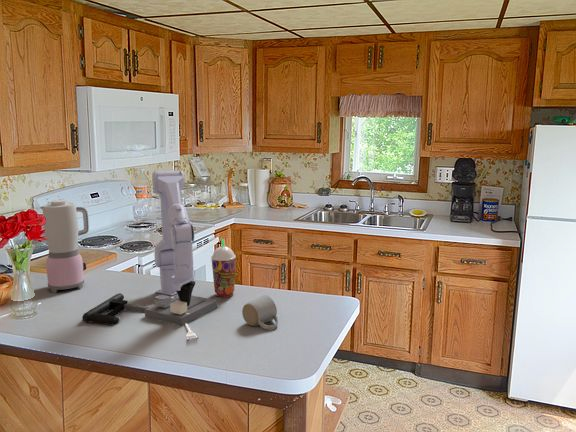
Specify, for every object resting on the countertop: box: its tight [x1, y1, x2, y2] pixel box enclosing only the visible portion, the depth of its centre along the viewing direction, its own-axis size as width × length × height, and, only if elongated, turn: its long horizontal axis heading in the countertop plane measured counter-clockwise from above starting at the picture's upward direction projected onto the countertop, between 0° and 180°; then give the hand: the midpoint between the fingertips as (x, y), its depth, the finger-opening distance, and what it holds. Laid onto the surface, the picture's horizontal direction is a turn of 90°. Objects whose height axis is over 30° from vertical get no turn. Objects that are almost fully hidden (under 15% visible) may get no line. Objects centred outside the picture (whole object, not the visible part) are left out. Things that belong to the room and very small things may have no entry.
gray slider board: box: [144, 294, 218, 327], centre depth 164 cm, size 17×15×3 cm
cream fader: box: [170, 301, 187, 315], centre depth 157 cm, size 3×4×3 cm
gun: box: [82, 292, 150, 326], centre depth 164 cm, size 3×20×16 cm
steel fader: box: [154, 294, 172, 308], centre depth 162 cm, size 3×4×3 cm
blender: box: [39, 199, 90, 293], centre depth 187 cm, size 16×12×32 cm
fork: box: [184, 323, 199, 341], centre depth 151 cm, size 3×20×2 cm, turn 20°
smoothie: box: [210, 238, 237, 298], centre depth 178 cm, size 8×8×20 cm
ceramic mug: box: [241, 294, 279, 330], centre depth 154 cm, size 11×8×8 cm
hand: (185, 305), depth 159 cm, fingers closed
